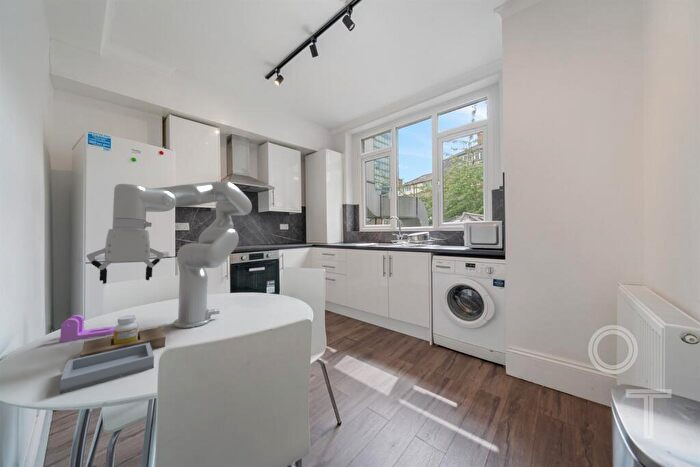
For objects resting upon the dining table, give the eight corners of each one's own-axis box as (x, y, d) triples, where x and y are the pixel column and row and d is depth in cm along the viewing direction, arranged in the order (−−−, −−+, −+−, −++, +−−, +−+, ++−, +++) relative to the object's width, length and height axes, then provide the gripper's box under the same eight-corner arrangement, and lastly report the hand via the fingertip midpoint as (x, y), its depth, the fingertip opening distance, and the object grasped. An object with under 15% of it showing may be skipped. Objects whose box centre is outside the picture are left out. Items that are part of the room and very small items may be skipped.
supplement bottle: (118, 346, 76) (119, 315, 76) (140, 344, 78) (141, 313, 78) (109, 354, 71) (110, 320, 71) (133, 351, 73) (134, 318, 73)
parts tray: (149, 352, 72) (149, 342, 73) (153, 367, 65) (153, 356, 65) (67, 372, 61) (67, 360, 61) (60, 393, 53) (60, 379, 54)
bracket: (60, 342, 78) (61, 320, 78) (67, 336, 83) (68, 315, 83) (115, 334, 85) (116, 314, 85) (119, 329, 90) (120, 310, 90)
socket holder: (160, 335, 85) (160, 326, 85) (165, 346, 77) (165, 336, 77) (83, 351, 72) (84, 341, 72) (79, 366, 64) (80, 355, 64)
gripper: (163, 227, 84) (160, 277, 83) (89, 223, 72) (86, 282, 71) (166, 226, 78) (164, 280, 78) (87, 223, 66) (83, 286, 66)
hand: (126, 281), depth 74 cm, fingers open, 9 cm apart
